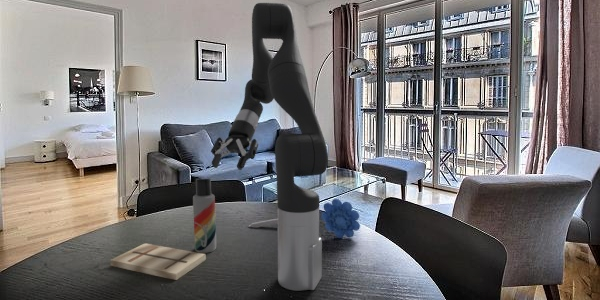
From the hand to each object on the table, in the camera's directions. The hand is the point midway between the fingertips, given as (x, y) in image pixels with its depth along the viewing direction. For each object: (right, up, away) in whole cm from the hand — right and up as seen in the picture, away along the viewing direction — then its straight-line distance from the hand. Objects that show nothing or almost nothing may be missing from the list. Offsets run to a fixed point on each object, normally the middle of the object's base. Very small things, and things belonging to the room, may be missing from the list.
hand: (226, 167), depth 102 cm
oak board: (-13, -23, -16) cm, 31 cm away
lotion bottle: (-4, -22, -8) cm, 24 cm away
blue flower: (+34, -21, -1) cm, 40 cm away
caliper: (+15, -20, +9) cm, 27 cm away
